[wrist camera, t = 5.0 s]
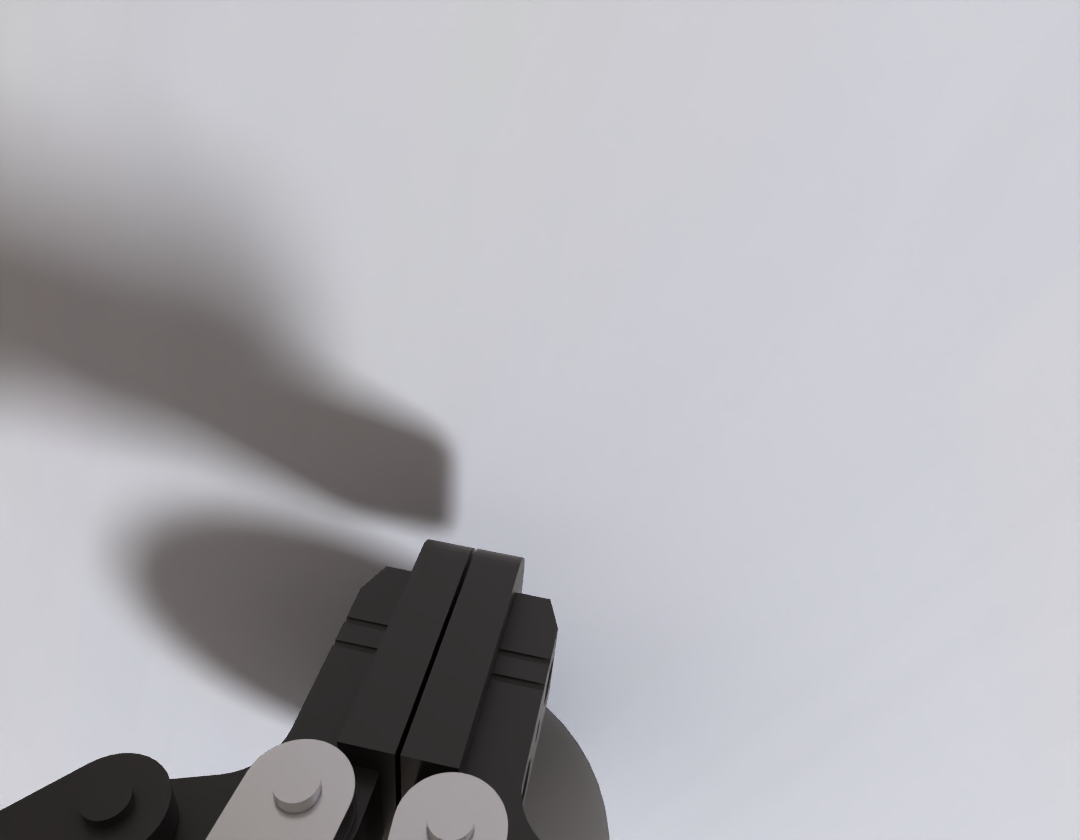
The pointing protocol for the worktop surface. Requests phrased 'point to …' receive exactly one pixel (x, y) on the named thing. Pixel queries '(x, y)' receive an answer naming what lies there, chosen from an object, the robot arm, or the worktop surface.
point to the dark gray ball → (563, 788)
